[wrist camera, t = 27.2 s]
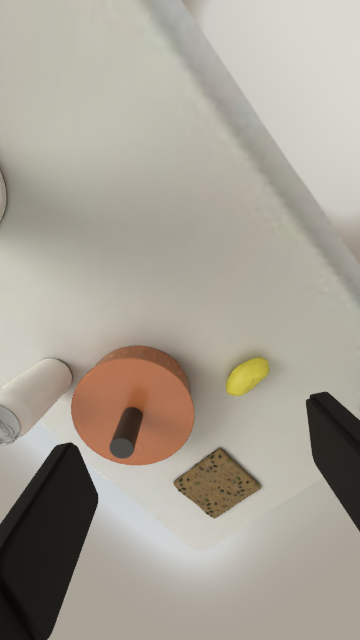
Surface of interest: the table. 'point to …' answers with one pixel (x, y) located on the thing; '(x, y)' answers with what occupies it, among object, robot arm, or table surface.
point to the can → (31, 397)
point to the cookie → (216, 484)
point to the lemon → (247, 376)
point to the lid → (132, 411)
